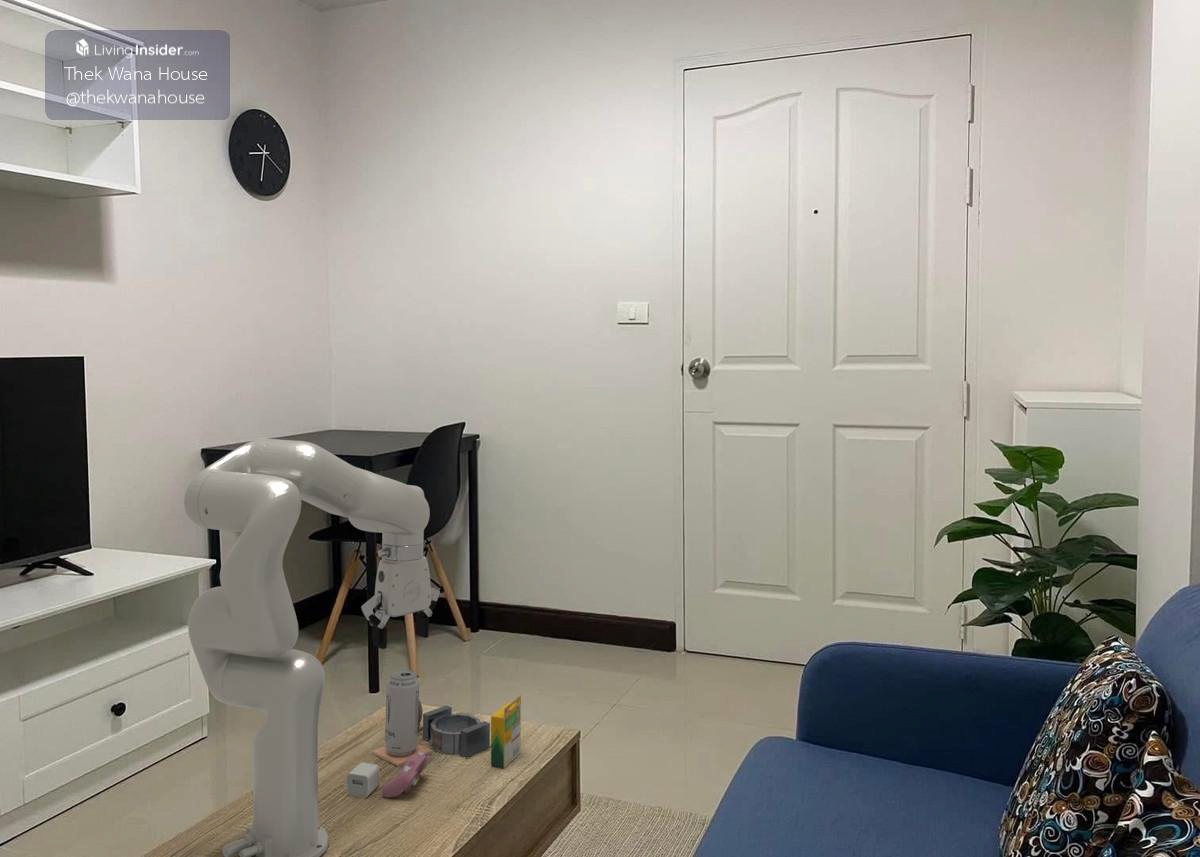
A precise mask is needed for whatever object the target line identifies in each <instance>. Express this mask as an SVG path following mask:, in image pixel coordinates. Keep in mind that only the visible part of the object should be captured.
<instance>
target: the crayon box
mask: <svg viewBox="0 0 1200 857" xmlns="http://www.w3.org/2000/svg"><path fill="white" fill-rule="evenodd" d="M521 696H522V695H519V696H518V697H517V698H515V699H514V700H513V701H511V702H509V701H508V702H506V704H504V705H503V706H502V707H500V708H499V709H498V710H497V711H496V712H495V713H493V714H492V715H491V717H490V766H491V767H493V766H495V767H494V768H498V767H499V768H498V769H503V770H505V769H506V768H505V767H508V765H509V764H511V762H513V761H514V760H515V759H516V758H517V757H518V756H519V755H520V754H521V751H522V750H521V749H522V748H521V729H522V728H521V726H522V725H521V723H522V722H521V716H522V714H521V713H522V711H521V707H522V706H521V704H522V698H521ZM504 768H505V769H504Z"/></svg>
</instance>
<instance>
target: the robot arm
mask: <svg viewBox="0 0 1200 857" xmlns="http://www.w3.org/2000/svg"><path fill="white" fill-rule="evenodd" d="M183 497H184V498H183V500H184V501H183V505H184V511H185V513H186V515H187V517H188V518H189V519H190V521H191V522H192V523H193V524H195V525H197V526H198V527H201V528H204V529H209V530H217V531H228V532H235V533H240V535H239V537H238V538H237V540H236V541H235V543H234V545H233V547H231V549H230V551H229V552H228V553H227V554H226V556H225V558H224V560H223V561H222V565H221V567H220V570H219V571H220V572H219V581H220V582H219V583H220V586H215V587H210V588H209V589H207V590H204V591H203V592H202V593H201V594H200V595H199V596H198V597H197V598H196V599H195V601H194V602H193V604H192V606H191V609H190V612H189V617H188V622H187V625H188V626H187V628H188V637H189V640H190V644H191V647H192V649H193V652H194V655H195V658H196V660H197V663H198V666H199V668H200V672H201V674H202V675H203V679H204V681H205V684H206V686H207V688H208V690H209V692H210V694H211V695H212V697H214V699H215V700H217V701H218V702H220V703H222V704H225V705H228V706H233V707H238V708H244V709H249V710H254V711H257V712H262V713H264V714H265V719H264V721H263V722H262V724H261V725H260V727H258V729H257V731H256V732H255V734H254V737H253V740H252V750H251V751H252V753H251V754H252V756H251V757H252V812H253V813H252V817H253V818H252V819H253V820H252V821H253V824H250V825H248V826H246V834H244V835H242V836H241V838H240V839H238V840H234V841H231V842H229V843H227V844H224V845H223V846H222V848H221V852H222V855H223V857H234V856H236V855H239V857H321V856H322V855H323V854H324V853H325V852H326V851H327V849H328V847H329V833H328V832H327V830H326V829H325V828H324V827H322V826H321V825H319V754H318V753H319V751H318V749H319V735H318V734H319V716H320V708H321V701H322V699H323V698H322V697H323V693H324V692H323V691H324V687H325V678H326V677H325V676H326V675H325V669H324V667H323V664H322V662H321V661H320V660H319V659H318V658H317V657H315V656H314V655H313V654H311V653H308V652H305V651H303V650H300V649H295V648H294V647H295V645H296V644H297V642H298V637H299V623H298V619H297V615H296V611H295V607H294V604H293V601H292V597H291V594H290V591H289V587H288V584H287V581H286V578H285V577H286V576H285V572H284V568H283V561H284V554H285V551H286V548H287V546H288V543H289V541H290V538H291V535H292V534H293V531H294V530H295V527H296V525H297V523H298V520H299V518H300V514H301V509H302V501H304V502H306V503H308V504H310V505H312V506H314V507H316V508H318V509H320V510H323V511H325V512H326V513H329V514H332V515H336V516H339V517H340V516H341V517H343V518H347V519H348V521H349V522H350V524H351V525H352V526H353V527H354V528H356V529H358V530H360V531H364V532H369V533H381V534H382V538H381V539H382V541H381V544H382V546H381V548H380V549H378V550H377V555H378V557H379V558H381V560H379V563H378V567H377V572H376V578H375V585H374V586H375V588H374V595H373V596H372V597H371V598H370V599H368V600H367V601H366V602H364V604H362V605H361V607H360V608H361V611H362V613H363V615H364V619H365V620H366V621H368V623H369V624H370V626H372V643H373V646H374V647H375V648H378V649H381V650H385V649H387V647H388V628H387V626H386V625H387V622H388V620H389V619H390V617H392V618H397V617H402V616H406V615H409V614H414V613H415V620H414V621H415V623H414V624H415V626H414V627H415V628H414V629H415V630H414V633H415V634H414V635H416V636H418V637H420V638H423V639H427V638H429V633H430V632H429V630H430V629H429V628H430V627H429V625H430V617H432V615H433V611H434V609H435V608H436V606H437V601H438V599H439V596H440V594H441V591H440V589H439V590H438V589H437V588H434V587H432V586H431V574H430V573H431V572H430V568H429V562H428V559H427V557H426V556H424V536H425V535H424V533H425V532H424V531H425V529H426V527H427V526H428V524H429V521H430V515H431V514H430V512H431V510H430V506H429V502H428V501H427V499H426V497H425V492H424V490H423V489H422V488H421V487H419V486H418V485H411V484H406V483H403V482H401V481H398V480H395V479H393V478H390V477H387V476H383V475H381V474H378V473H374V472H372V471H370V470H366V469H363V468H360V467H357V466H354V465H352V464H350V463H348V462H347V461H346V460H343V459H342V458H340V457H338V456H336V454H333V453H332V452H330V451H328V450H326V449H325V448H323V447H322V446H319V445H317V444H316V443H312V442H311V441H310V442H309V441H305V440H291V439H290V440H289V439H278V438H277V439H276V438H257V439H255V440H252V441H248V442H246V443H245V444H242V445H240V446H239V447H237V448H235V449H233V450H231V451H230V452H229V453H227V454H226V455H224V456H222V457H221V458H219V459H218V460H216V461H214V462H213V463H212V464H209V465H208V466H206V467H205V468H204V469H203V470H201V471H200V472H198V473H197V474H196V475H195V476H194V477H193V478H192V479H191V481H190V483H189V484H188V486H187V488H186V491H185V493H184V496H183ZM373 610H375V613H374V611H373ZM416 613H417V614H416ZM385 626H386V627H385ZM293 648H294V649H293Z"/></svg>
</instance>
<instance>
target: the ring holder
mask: <svg viewBox="0 0 1200 857" xmlns="http://www.w3.org/2000/svg"><path fill="white" fill-rule="evenodd" d="M452 710H453V708H452V707H451V706H449V705H443V706H441V707H438V708H436V709H435V708H434V709H431V710H430V711H427V712H423V714H422V739H424V740H426V739H427V740H426V741H429V743H430V746H431V750H434V751H436V752H439V753H440V754H445V753H446V754H447V755H460V756H461V757H462V758H464V757H465V758H464V759H468V758H470V757H472V755H473V756H475V755H477V754H480V753H482V752H485V751H487V750H489V749H491V722H488V721H481V719H480V718H479V717H477V716H474V715H472V714H469V713H467V714H466V713H457V712H456V713H452ZM488 748H489V749H488ZM486 749H487V750H486ZM481 751H482V752H481ZM479 752H480V753H479ZM476 753H477V754H476ZM474 754H475V755H474ZM467 757H468V758H467Z"/></svg>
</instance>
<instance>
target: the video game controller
mask: <svg viewBox="0 0 1200 857" xmlns="http://www.w3.org/2000/svg"><path fill="white" fill-rule="evenodd" d="M430 760H431V756H430V755H429V754H428V755H427V754H425V753H421V752H420V751H419V752H418V753H416V754H415V755H412V756H410V757H409V758H408V759H407V760H406V762H405V763H404V764H403V765H401V766H400V771H399V773H397V775H396V776H395V777H394V778H393V779H392V780H390V781H389V782H387V783H386V784H385V785H384V786H383V787H382V790H381V794H382V796H383V797H385V798H387V799H388V798H389V799H390V798H394V797H397V796H399V795H400V794H402V793H403V792H404V793H405V794H407V793H408V792H409V790H410V788H411V787H412V786H413V787H414V786H416V785H417V784H418V782H419V781H420V775H421V774H422V773H423V771H424V770H425V769H426V767H428V765H429V764H428V763H429V761H430Z"/></svg>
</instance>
